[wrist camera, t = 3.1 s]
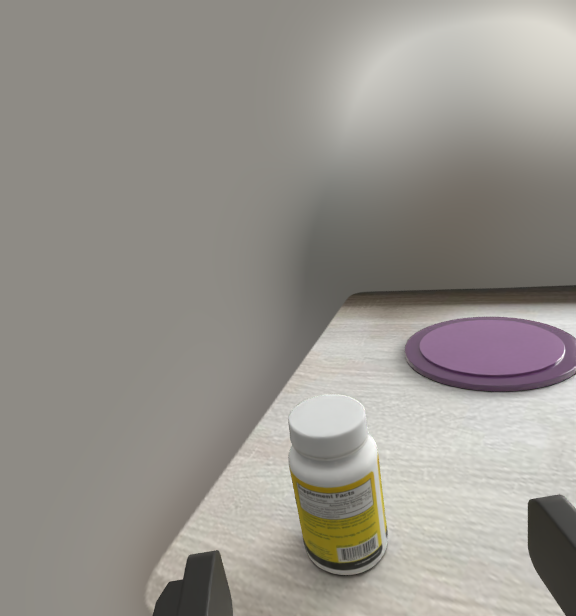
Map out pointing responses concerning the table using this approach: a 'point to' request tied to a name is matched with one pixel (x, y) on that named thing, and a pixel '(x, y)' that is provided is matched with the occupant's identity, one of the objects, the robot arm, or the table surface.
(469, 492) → the table surface
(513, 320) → the plum dish
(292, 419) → the supplement bottle
